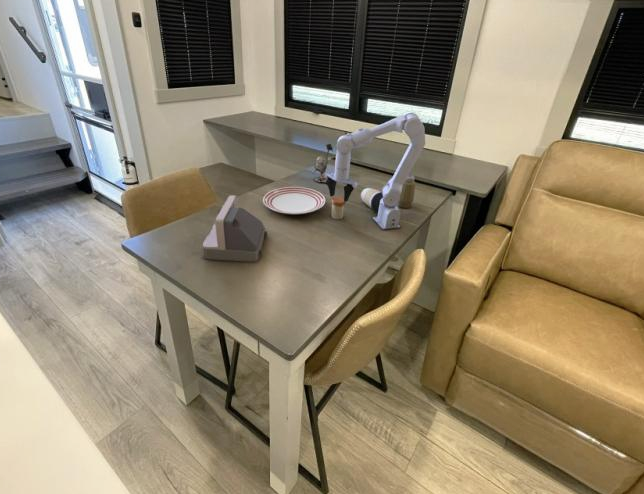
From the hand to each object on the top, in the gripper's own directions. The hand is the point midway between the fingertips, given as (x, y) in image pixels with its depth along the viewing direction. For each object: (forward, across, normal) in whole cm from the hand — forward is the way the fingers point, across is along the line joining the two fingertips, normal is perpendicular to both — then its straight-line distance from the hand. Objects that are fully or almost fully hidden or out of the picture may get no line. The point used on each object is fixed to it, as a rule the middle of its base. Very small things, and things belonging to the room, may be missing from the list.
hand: (339, 198), depth 136 cm
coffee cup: (+5, -2, -21) cm, 22 cm away
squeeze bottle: (+9, -16, -31) cm, 36 cm away
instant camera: (+9, +14, +42) cm, 45 cm away
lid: (+1, 0, 0) cm, 1 cm away
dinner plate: (+9, +20, +5) cm, 22 cm away
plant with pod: (+9, +29, -27) cm, 41 cm away
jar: (+8, 0, 0) cm, 8 cm away
